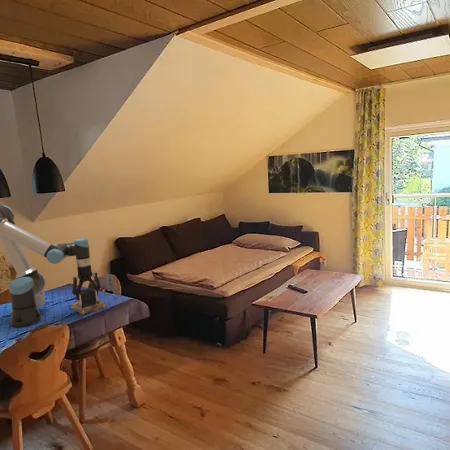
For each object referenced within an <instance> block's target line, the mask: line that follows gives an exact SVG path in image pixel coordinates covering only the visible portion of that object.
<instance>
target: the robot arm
mask: <svg viewBox="0 0 450 450" xmlns="http://www.w3.org/2000/svg"><path fill="white" fill-rule="evenodd" d="M14 218H15V213H14V211H13V210H12V209H11V208H10V207H9V206H7V205H3V204H0V242H1V244H2V246H3V248H4V250H5V251H6V254H7V257H8V258H9V260H10V263H11V264H12V266H13V268H14V271H15V272H16V275H15V279H13V280H11V281H10V282H9V285H8V287H9V288H8V290H9V291H8V292H9V295H10V302H11V309H12V311H11V315H10V323H9V324H10V326H11V327H13V328H23V327H29V326H31V325H36V324H37V323H39V322H41V320H42V319H43V318H42V313H41V312H40V310H39V308H38V307H37V306H36V299H35V296H36V295H37V294H38V293H40V294H41V292H42V291H43V290H44V288H45V286H46V279H45V276H44V275H43V274H41V273H40V272H39V271H38V269H37V267H36V268H35V267H33V265H32V263H31V260H30V258H29V257H28V255H27V253H26V251H25V248H27V249H29V250H31V251H32V252H34V253H36V254H39V255H40V256H42V257H44V258H46V259H47V261H48V263H50V264H52V265H53V264H55V265H56V264H59V263H61V262H62V261H63V260H64V259H66V258H68V257H75V259H76V260H75V261H76V266H77V267H76V268H77V269H76V270H77V276H73V277H72V282H73V283H72V292H71V293H72V295H74V296H75V297H76V300H77V302H78V303H79V306H82V302H81V295H80V290H82V287H83V284H84V283H85V282H89V283H90V285H91V286H92V288H93V289H94V292H95V300H96V302H97V301H98V300H99V299H98V296H99V290H100V289H101V288H102V286H101V283H100V280H99V277H98V272H95V271H93V272H92V265H91V263H92V262H91V257H90V254H91V253H90V245H89V239H87V238H85V237H84V238H83V237H81V238H75V239H74V240H73V242H69V243H56V244H52V243H50V242H49V241H47V240H44V239H43V238H41V237H39V236H37V235H35V234H33V233H31V232H30V231H28V230H25V229H23V228H21V227H19V226H18V225H16V222H15V219H14ZM38 272H39V273H38ZM92 277H93V279H94V280H93V279H92Z"/></svg>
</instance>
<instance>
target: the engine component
mask: <svg viewBox="0 0 450 450" xmlns="http://www.w3.org/2000/svg"><path fill="white" fill-rule="evenodd" d="M38 273H40V272H39V271H38ZM45 296H46V294H45V291H44V292H42V294H41V292H40V293H38V294H37V295H36V296H35V299H36V306H37V308H38V307H42V306H44V305H45V304H46V303H47V302H46V297H45Z"/></svg>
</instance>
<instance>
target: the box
mask: <svg viewBox="0 0 450 450" xmlns="http://www.w3.org/2000/svg"><path fill="white" fill-rule="evenodd" d="M94 290H95V289H94V288H93V287H89V288H84V289H81V290H80V293H79V294H80V295H81V302H82V306H81V307H82V308H85V307H89V306H92V305H96V300H95V292H94Z"/></svg>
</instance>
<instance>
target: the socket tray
mask: <svg viewBox="0 0 450 450" xmlns="http://www.w3.org/2000/svg"><path fill="white" fill-rule="evenodd" d="M102 308H103V309H105V308H106V302H104V301H102V300H100V299H98V301H97V302H96V305H92V306H89V307H85V308H82V307H81V306H79V303H78V301H77V302H74V303H73V302H72V303H71V310H73V311H75V312H76V311H77V312H76V313H78V312H79V313H78V314H80V315H85V313H86V314H88V312H89V313H91V312H95V310H96V311H99V310H101V309H102Z"/></svg>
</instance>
